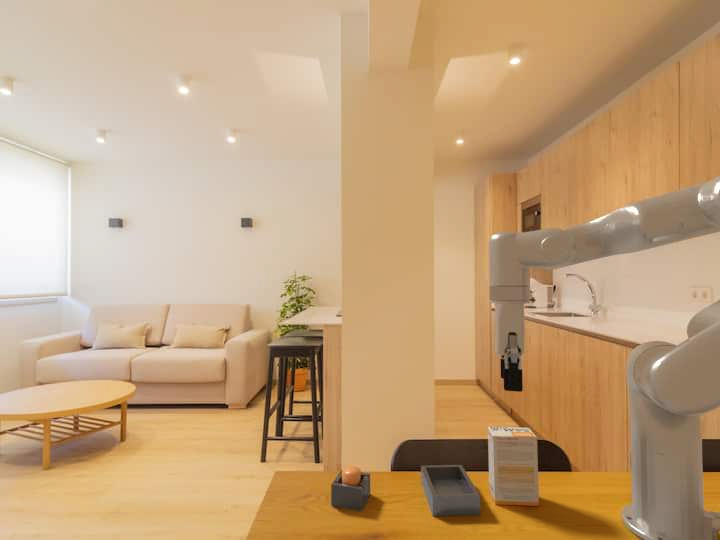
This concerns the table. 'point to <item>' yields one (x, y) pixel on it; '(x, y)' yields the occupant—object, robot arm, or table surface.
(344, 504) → the button housing
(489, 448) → the supplement box
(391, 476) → the table surface
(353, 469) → the button
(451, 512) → the tray
